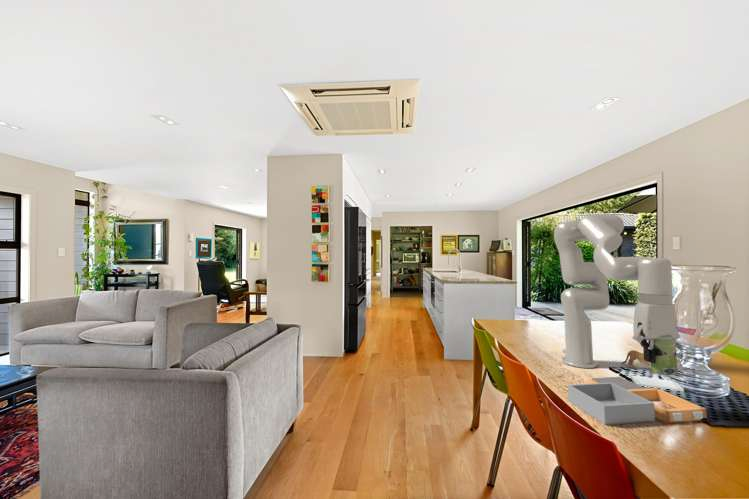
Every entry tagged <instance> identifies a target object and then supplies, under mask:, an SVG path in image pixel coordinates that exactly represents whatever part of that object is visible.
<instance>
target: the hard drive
mask: <svg viewBox="0 0 749 499" xmlns="http://www.w3.org/2000/svg"><path fill="white" fill-rule="evenodd" d="M630 378H632V379H631V381H632V382H633V383H635V384H637V385H639V386H648V387H656V388H663V389H670V390H676V391H675V392H677V391H684V392H685V388H683V387H682V386H681V385H680V384H679V383H678V382H677V383H678V384H677V383H675V382H673V381H674V380H669V379H668V380H667V379H660V378H653V377H648V376H647V377H646V376H639V375H630ZM648 387H647V388H648ZM670 390H669V391H670Z"/></svg>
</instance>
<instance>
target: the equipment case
mask: <svg viewBox="0 0 749 499" xmlns="http://www.w3.org/2000/svg"><path fill="white" fill-rule="evenodd" d="M587 381H588V384H594V383H613V384H615V385H617V386H619V387H621V388H623V389H626V390H628V391H630V392H632V393H634V394H636V395H638V396H640V397H642V398H644V399H647V400H649V401H654V400H658V401H660V402H663V403H664V404H667V405H668V406H671V407H672V408H664V407H663V406H662V407H661V406H659V405H657V404H655V403H654V410H655V419H658V420H660V421H662V422H664V423H666V424H668V423H680V422H681V423H682V422H694V421H695V422H696V421H697V422H698V421H702V420H701V419H703V418H707V417H708V415H707V408H705V407H703V406H701V405H698V404H696V403H693V402H691V401H688V400H686V399H684V398H681V397H680V396H677V395H674V394H672V393H670V392H668V391H666V390H662V389H658V388H648V387H642V386H639V385H637V384H635V383H634V382H633V381H631V380H628V379H625V378H623V377H621V376H610V377H609V376H607V377H592V378H588V380H587ZM707 419H708V418H707Z"/></svg>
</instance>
